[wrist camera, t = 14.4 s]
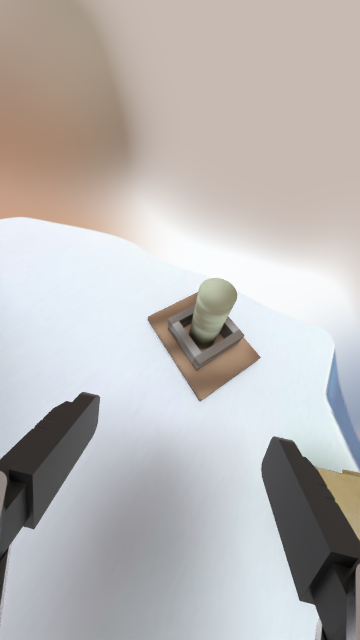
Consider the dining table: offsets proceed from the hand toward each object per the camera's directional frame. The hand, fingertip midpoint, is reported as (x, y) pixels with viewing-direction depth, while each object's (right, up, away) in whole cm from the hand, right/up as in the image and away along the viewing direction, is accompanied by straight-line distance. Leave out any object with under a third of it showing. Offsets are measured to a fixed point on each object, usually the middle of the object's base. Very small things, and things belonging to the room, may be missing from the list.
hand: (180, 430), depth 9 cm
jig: (+4, +2, +25) cm, 25 cm away
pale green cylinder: (+4, +2, +24) cm, 24 cm away
